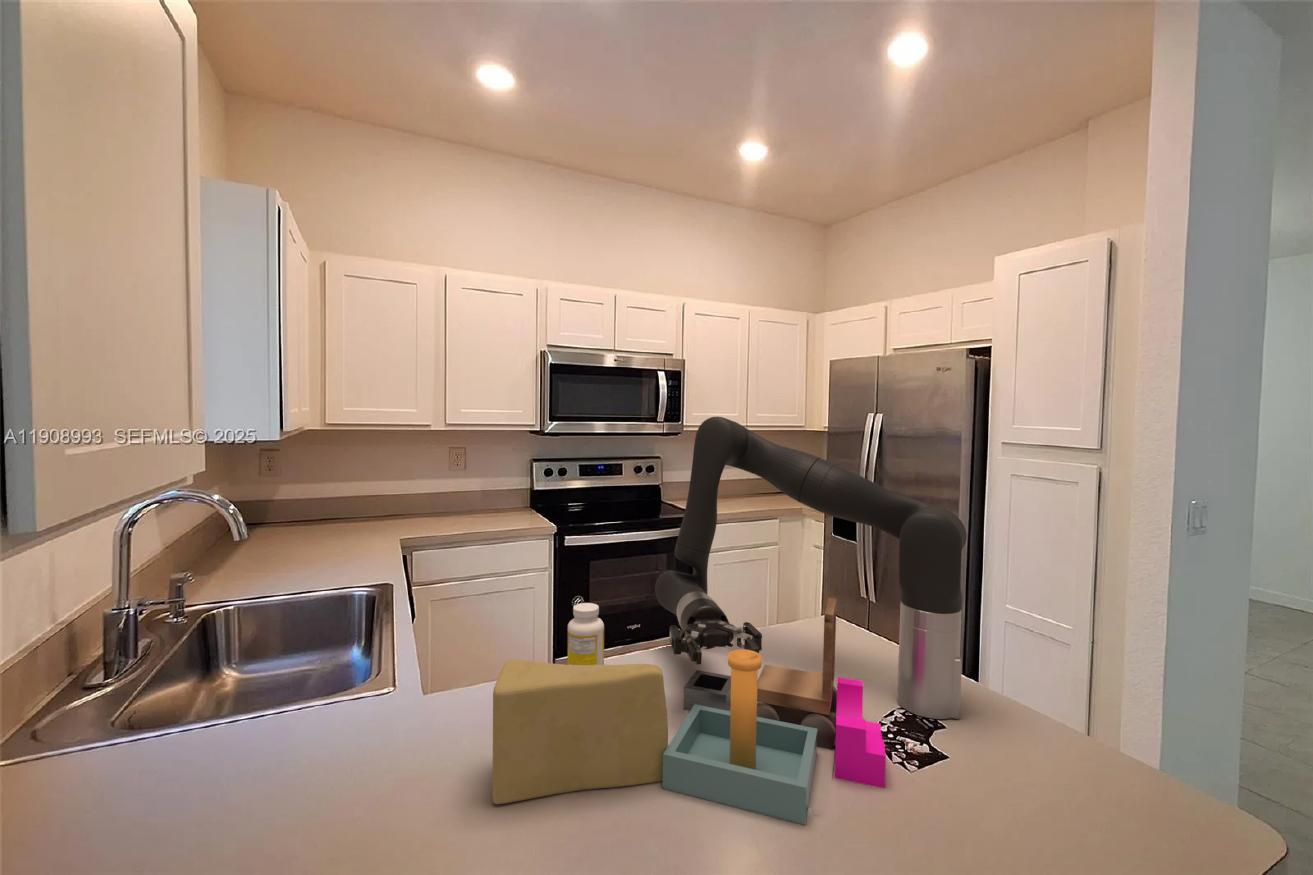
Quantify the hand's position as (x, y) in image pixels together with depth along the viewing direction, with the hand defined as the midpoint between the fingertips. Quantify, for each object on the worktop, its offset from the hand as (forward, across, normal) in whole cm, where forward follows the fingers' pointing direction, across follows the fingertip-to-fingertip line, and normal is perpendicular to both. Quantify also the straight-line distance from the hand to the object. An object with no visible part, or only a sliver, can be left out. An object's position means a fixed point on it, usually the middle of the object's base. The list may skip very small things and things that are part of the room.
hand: (727, 657), depth 86 cm
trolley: (-2, +12, +12) cm, 17 cm away
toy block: (+6, +18, +13) cm, 23 cm away
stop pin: (+8, 0, +11) cm, 14 cm away
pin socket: (-9, 0, +12) cm, 15 cm away
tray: (+8, 0, +12) cm, 15 cm away
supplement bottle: (-24, -20, +13) cm, 33 cm away
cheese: (+7, -21, +13) cm, 26 cm away
